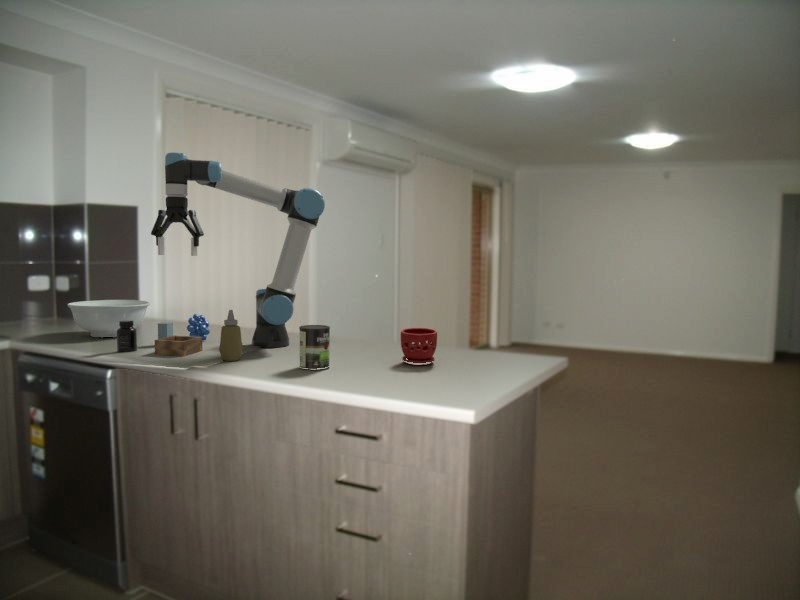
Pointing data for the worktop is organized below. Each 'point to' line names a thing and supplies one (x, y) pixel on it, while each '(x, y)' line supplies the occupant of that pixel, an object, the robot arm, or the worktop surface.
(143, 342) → the worktop surface
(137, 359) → the worktop surface
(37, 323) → the worktop surface
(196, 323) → the grapes
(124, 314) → the bowl
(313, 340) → the coffee can
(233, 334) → the squeeze bottle
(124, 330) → the supplement bottle
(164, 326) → the lid
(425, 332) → the plant pot
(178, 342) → the box
